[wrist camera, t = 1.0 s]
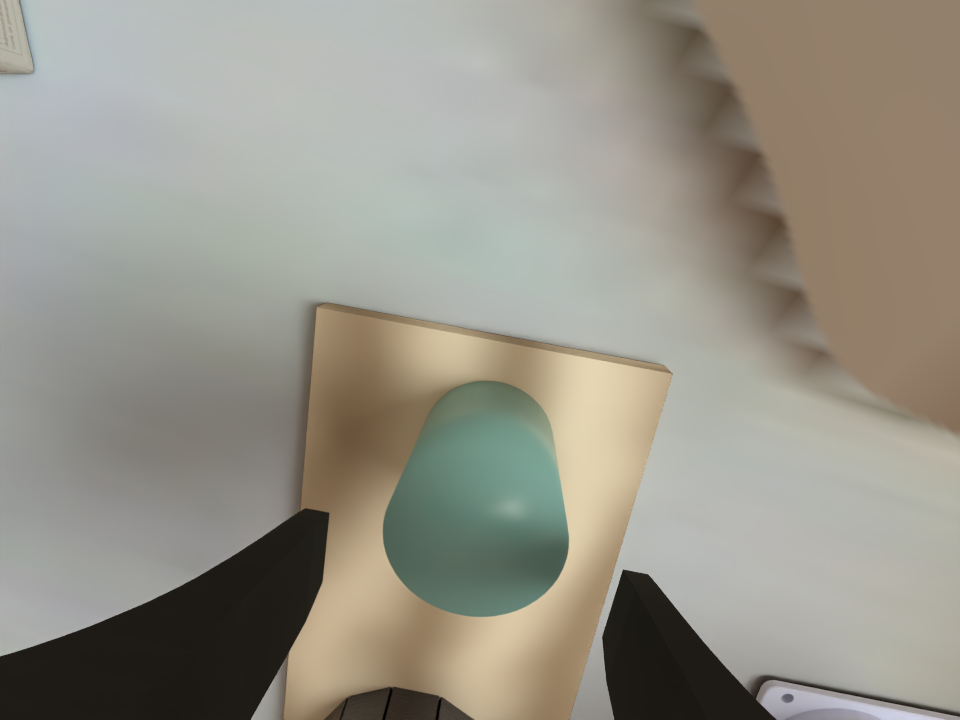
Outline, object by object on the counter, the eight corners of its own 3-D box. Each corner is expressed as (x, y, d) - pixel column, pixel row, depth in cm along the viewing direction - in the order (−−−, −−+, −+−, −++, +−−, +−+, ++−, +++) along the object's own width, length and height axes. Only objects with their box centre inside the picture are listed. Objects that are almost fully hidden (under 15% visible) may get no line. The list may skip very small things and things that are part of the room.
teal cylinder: (566, 394, 18) (588, 476, 13) (538, 511, 20) (547, 632, 14) (432, 369, 19) (394, 439, 13) (414, 487, 20) (372, 598, 14)
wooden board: (665, 365, 19) (672, 373, 18) (527, 833, 26) (528, 856, 25) (326, 302, 19) (316, 307, 18) (285, 783, 27) (276, 804, 26)
